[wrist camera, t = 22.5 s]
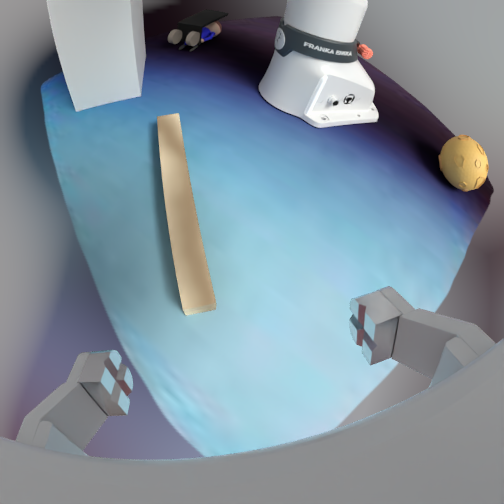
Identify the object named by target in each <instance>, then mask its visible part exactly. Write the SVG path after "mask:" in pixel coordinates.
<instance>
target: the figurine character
mask: <svg viewBox="0 0 504 504" xmlns="http://www.w3.org/2000/svg"><path fill="white" fill-rule="evenodd" d="M227 15H228V13H224V12H219V11H213V10H207V9H206V10H204V11H201V12H199V13H197V14H195V15H193V16H190V17H188V18H186V19H184V20H182V21H180V22H178V29H177V30H176V29H175V30H172V31H171V32H170V34H169V36H168V42H169V43H172V44H177V43H179V42H180V41H182V42H185V44H183V45H182V46H180V47H179V50H181V49H183V48H184V47H185V46H187V45H189V46H194V47H193V48H192V49H190V51H193V50H194V49H195V48H197V47H198V45H201V43H202V42H204V41H207V40H210V39H212V38H213V37H215V36H217V35H218V34H219V33H220V32H221V24H220V23H219V22H218V21H217V20H219V19H221V18H223V17H225V16H227Z"/></svg>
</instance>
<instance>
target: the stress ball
mask: <svg viewBox="0 0 504 504" xmlns="http://www.w3.org/2000/svg"><path fill="white" fill-rule="evenodd" d="M439 164H440V170H441V171H442V172H443V174H444V176H445V178H446V179H447V180H448V181H449V182H450V183H451V184H452V185H453V186H455V187H456V188H458V189H461V190H462V191H468V190H473V189H476V188H478V187H480V186H481V185H482V184H483V183H484V182H485V179H486V176H487V172H488V161H487V157H486V154H485V152H484V150H483V148H482V147H481V146H480V145H479V144H478V143H477V142H476V141H474V140H473V139H471V138H470V137H469V136H466V135H459V136H456V137H453V138H451V139H450V140H448V141H447V142H446V143H445V145H444V146H443V148H442V151H441V155H439Z"/></svg>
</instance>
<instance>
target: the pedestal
mask: <svg viewBox="0 0 504 504" xmlns="http://www.w3.org/2000/svg"><path fill="white" fill-rule="evenodd" d="M46 1H47V6H48V11H49V17H50V21H51V27H52V31H53V35H54V40H55V44H56V48H57V52H58V55H59V59H60V62H61V66H62V69H63V73H64V76H65V80H66V83H67V86H68V89H69V92H70V95H71V98H72V101H73V104H74V107H75V110H76V112H78V111H81V110H84V109H88V108H92V107H95V106H99V105H103V104H107V103H111V102H116V101H120V100H125V99H130V98H135V97H140V96H141V90H142V81H143V73H144V65H145V58H146V51H145V39H144V26H143V9H142V0H46Z"/></svg>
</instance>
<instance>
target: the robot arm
mask: <svg viewBox="0 0 504 504" xmlns="http://www.w3.org/2000/svg"><path fill="white" fill-rule="evenodd" d="M367 5H368V2H367V0H288V1H287V6H286V11H285V15H284V17H283V18H281V20H280V24H279V28H278V30H277V33H276V38H275V52H274V54H273V57H272V60H271V62H270V65H269V67H268V69H267V71H266V73H265V75H264V77H263V79H262V80H261V82H260V84H259V91H260V93H261V95H262V96H263V98H264V99H265V100H266V101H268V102H269V103H270V104H272V105H273V106H275V107H276V108H278V109H280V110H282V111H285V112H287V113H290V114H292V115H295V116H298V117H300V118H302V119H303V120H305V121H306V122H308V123H309V124H311V125H312V126H315V127H318V128H322V127H330V126H338V125H347V124H357V123H368V122H376V121H377V120H378V111H377V109H376V107H375V105H374V104H373V102H372V101H373V98H374V94H375V88H374V84H373V82H372V80H371V79H370V77H369V76H368V74H367V73H366V71H365V70H364V68H363V67H362V66H361V64H360V63H359V61H358V60H357V52H358V53H359V54H361V55H362V57H363V58H364V59H369V57H370V58H371V56H373V55H372V54H373V52H372V50H371V49H369V48H368V47H367V46H366V45H360V43H359V42H358V41H357V40H356V39H355V38H356V35H357V32H358V29H359V27H360V25H361V22H362V20H363V17H364V14H365V12H366V9H367ZM350 310H351V312H352V313H353V315H352V316H351V318H350V319H349V321H350V331H351V335H352V338H353V340H354V341H355V343H356V344H357V345H359V346H362V354H363V355H364V357H365V358H366V360H367V361H368V363H369V364H370V365H373V364H375V363H378V362H381V361H384V360H386V359H389V358H391V357H392V359H394V360H396V361H397V362H399V363H401V364H403V365H405V366H407V367H409V368H411V369H413V370H415V371H417V372H419V373H421V374H423V375H425V376H427V377H429V378H431V379H432V382H431V384H430V386H429V388H428V389H426V390H424V391H422V392H420V393H419V394H417V395H415V396H413V397H411V398H409V399H407V400H405V401H403V402H401V403H399V404H396V405H395V406H392V407H390V408H388V409H385V410H383V411H381V412H378V413H376V414H374V415H371V416H369V417H366V418H364V419H361V420H359V421H356V422H354V423H351V424H348V425H345V426H343V427H340V428H337V429H334V430H331V431H328V432H325V433H321V434H318V435H315V436H311V437H308V438H304V439H301V440H297V441H293V442H289V443H285V444H281V445H277V446H272V447H267V448H263V449H257V450H252V451H247V452H241V453H234V454H227V455H220V456H211V457H201V458H189V459H173V460H172V459H170V460H130V459H113V458H101V457H92V456H88V455H87V454H86V453H84V452H83V450H84V449H85V447H86V446H87V444H88V443H89V442H90V440H91V439H92V438H93V436H94V435H95V434H96V432H97V430H99V428H100V427H101V426H102V424H103V423H104V422H105V420H106V419H107V418H108V417H107V416H119V415H127V414H128V409H129V404H130V400H129V398H128V397H127V396H128V395H129V394H130V393H131V392H132V388H133V380H132V375H131V373H130V370H129V369H128V367H127V366H125V365H124V364H122V363H121V359H122V358H121V356H120V354H119V353H118V351H116V350H106V351H94V352H84V353H80V354H79V355H78V357H77V359H76V361H75V363H74V365H73V368H72V370H71V372H70V375H69V377H68V379H67V381H66V383H63V384H61V385H60V386H59V387H58V388H57V389H56V390H55V391H54V392H52V393H51V394H50V395H49V396H48V397H47V398H46V399H44V400H43V401H42V402H41V403H40V404H39V405H38V406H37V407H35V408H34V409H33V410H32V411H31V412H30V413H29V414H28V415H26V416H25V418H24V420H23V423H22V425H21V428H20V431H19V433H18V436H17V438H16V441H13V440H10V439H6V438H3V437H0V504H504V338H503V339H502V340H501V341H500V342H498V343H497V344H496V343H495V342H494V341H493V340H492V339H491V338H490V337H489V336H487V335H486V334H485V333H484V332H483V331H482V330H481V329H480V328H479V327H478V326H477V325H476V324H473V323H469V322H466V321H462V320H458V319H455V318H451V317H448V316H444V315H440V314H437V313H434V312H430V311H427V310H423V309H420V308H419V309H416V310H415V309H414V308H413V307H412V306H411V305H410V304H409V303H408V302H407V301H406V300H405V299H404V298H403V297H402V296H401V295H400V294H399V293H398V292H397V291H395V290H394V289H393V288H392V287H390V286H388V287H385V288H382V289H379V290H377V291H375V292H372V293H369V294H366V295H363V296H359V297H356V298H353V299H351V301H350Z"/></svg>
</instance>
